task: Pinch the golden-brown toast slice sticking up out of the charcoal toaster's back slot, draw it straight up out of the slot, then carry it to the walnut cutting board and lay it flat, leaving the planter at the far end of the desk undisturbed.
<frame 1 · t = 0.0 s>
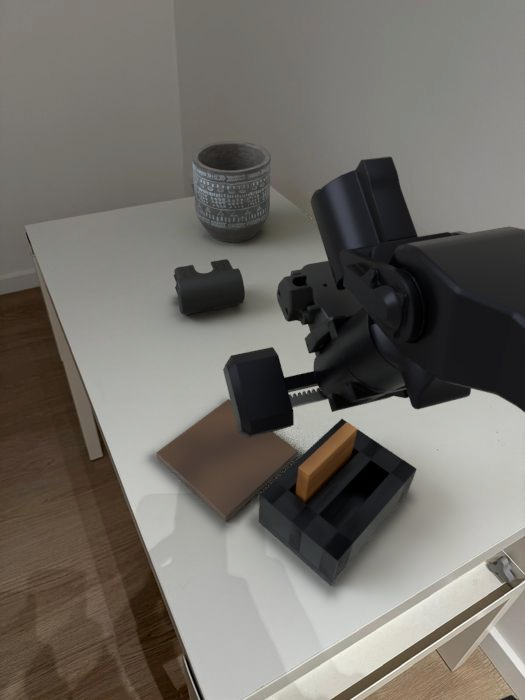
hand: (315, 392, 49), 16 cm above the table, tool tilted 35°, fingers open, 9 cm apart
planter: (233, 230, 102), on the table
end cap: (209, 307, 84), on the table
toaster: (334, 509, 57), on the table
board: (227, 457, 62), on the table
toast: (320, 493, 58), point 1 cm above the table, touching toaster
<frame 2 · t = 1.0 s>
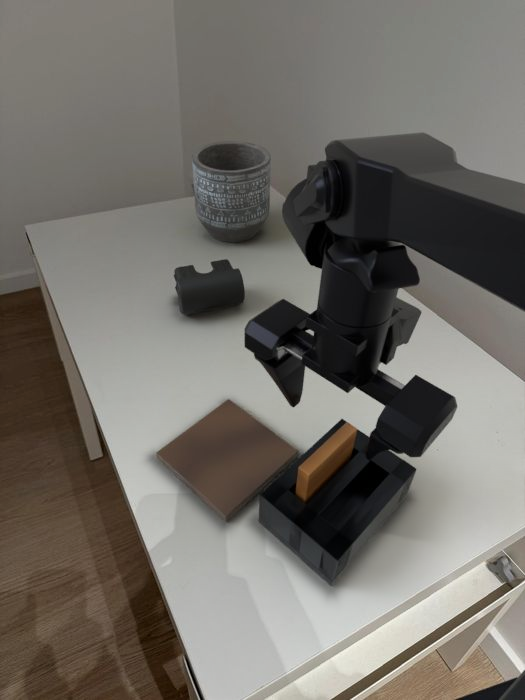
hand: (331, 429, 50), 12 cm above the table, tool pointing down, fingers open, 9 cm apart
nothing on the table moved.
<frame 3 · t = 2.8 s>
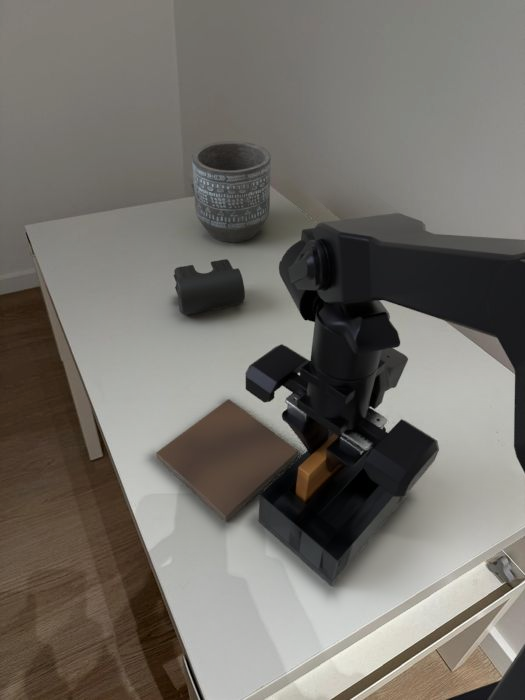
hand: (325, 464, 54), 7 cm above the table, tool pointing down, fingers closed on toast, 1 cm apart
toast: (320, 493, 58), point 1 cm above the table, touching gripper, toaster
everything else where it was.
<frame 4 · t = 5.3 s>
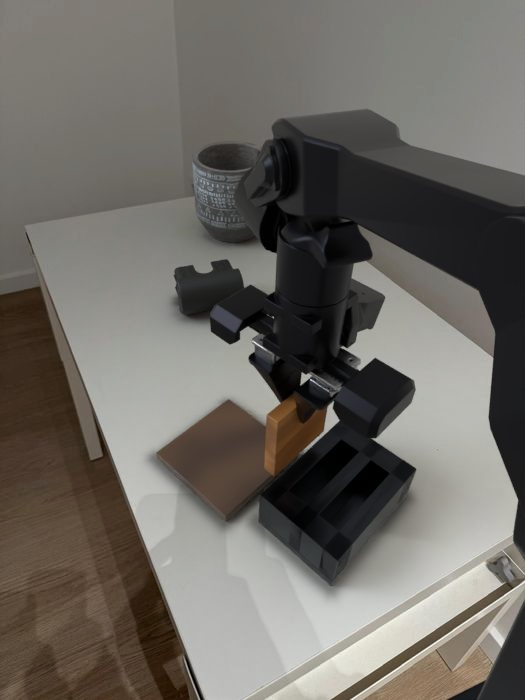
hand: (298, 415, 50), 13 cm above the table, tool pointing down, fingers closed on toast
toast: (295, 449, 54), point 8 cm above the table, touching gripper
everything else where it was.
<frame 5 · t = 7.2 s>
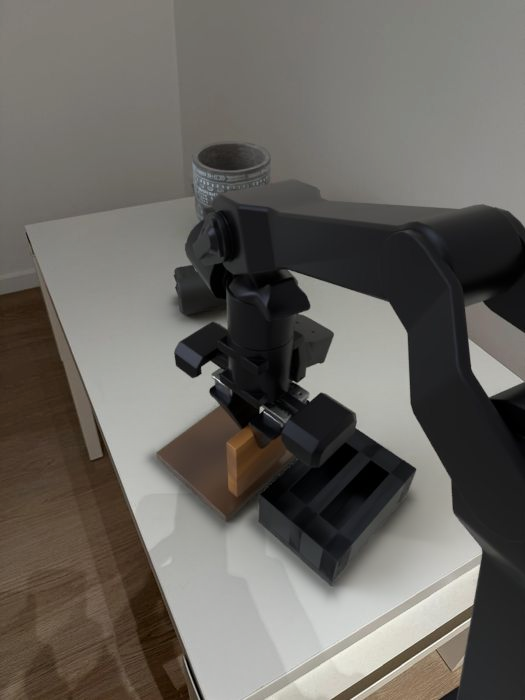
hand: (258, 441, 54), 8 cm above the table, tool pointing down, fingers closed on toast, 1 cm apart
toast: (258, 471, 58), point 2 cm above the table, touching gripper
everything else where it was.
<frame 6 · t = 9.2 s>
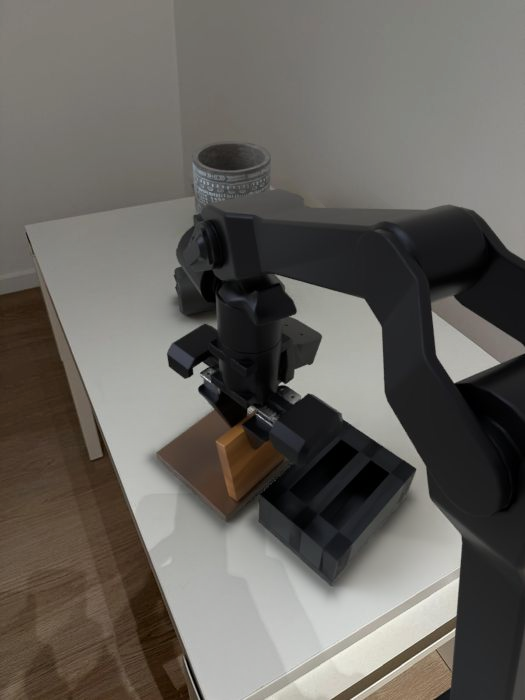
hand: (249, 440, 56), 7 cm above the table, tool pointing down, fingers closed
toast: (257, 476, 59), point 1 cm above the table, tilted 11°, touching board
everything else where it was.
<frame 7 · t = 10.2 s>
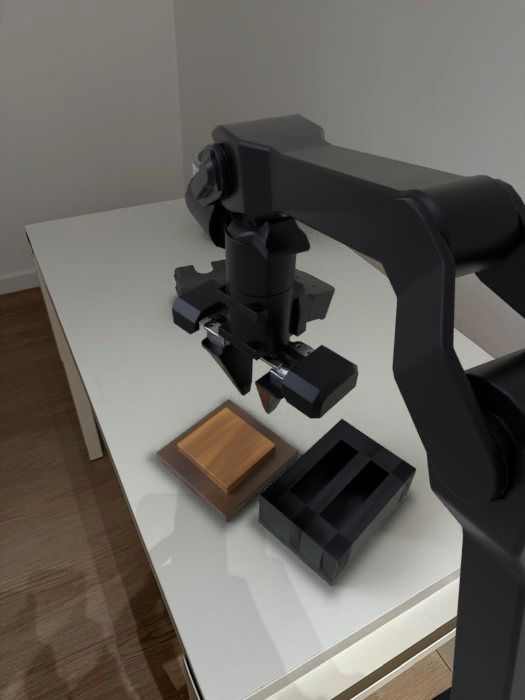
hand: (257, 401, 53), 12 cm above the table, tool pointing down, fingers open, 3 cm apart
toast: (252, 469, 59), point 2 cm above the table, tilted 90°, touching board
everything else where it was.
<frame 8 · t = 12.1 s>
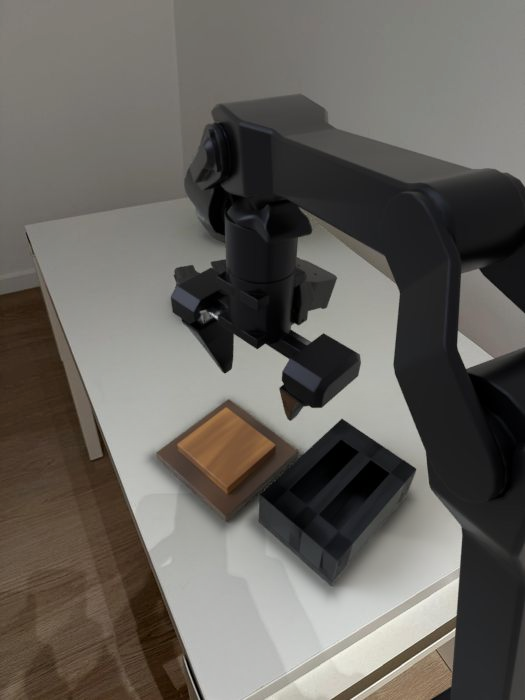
hand: (258, 393, 52), 13 cm above the table, tool pointing down, fingers open, 9 cm apart
nothing on the table moved.
at the end: toast inside the target area on the board (4.2 cm from its centre), point 1.9 cm above the board's base; toast tilted 90°; planter moved 0.2 cm from its start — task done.
